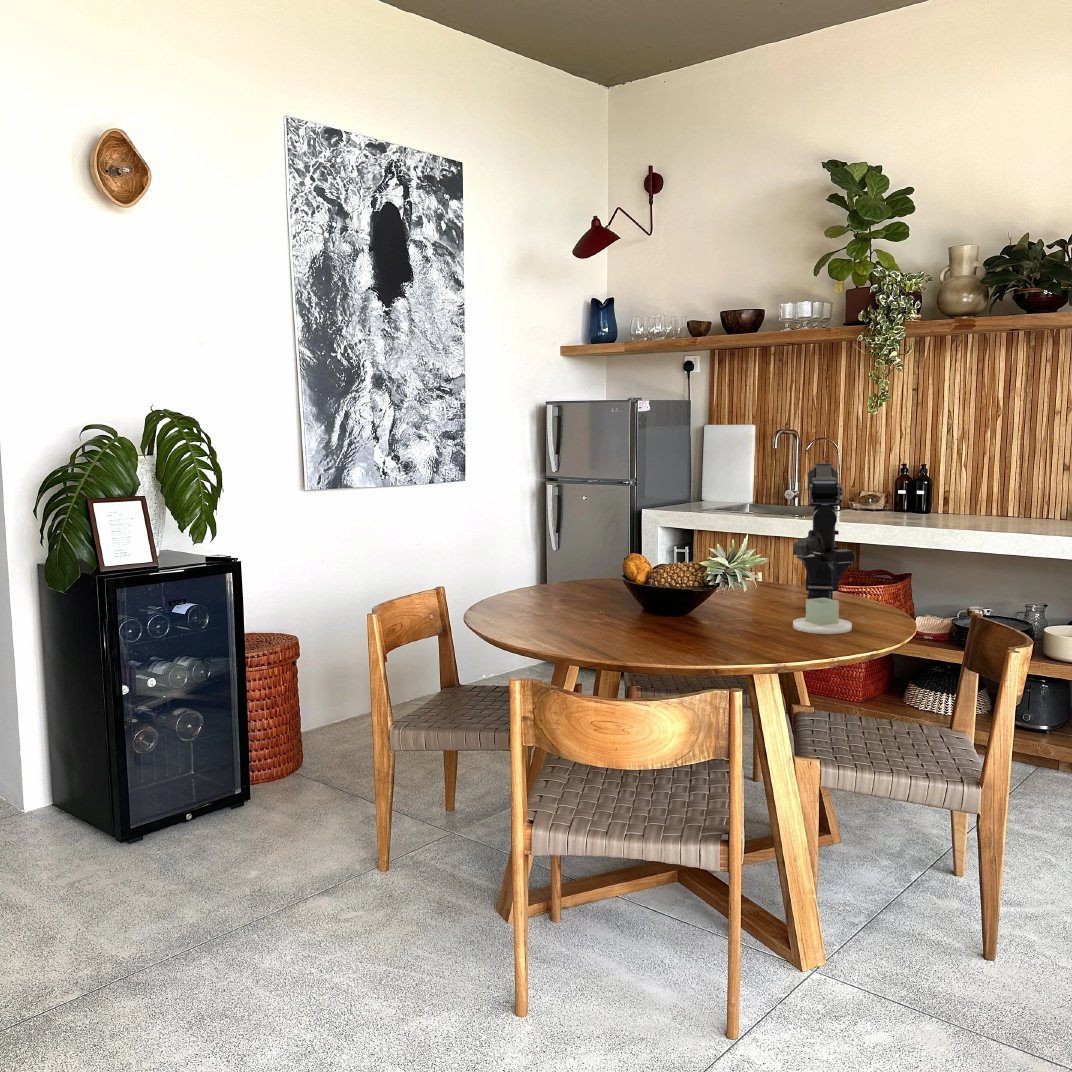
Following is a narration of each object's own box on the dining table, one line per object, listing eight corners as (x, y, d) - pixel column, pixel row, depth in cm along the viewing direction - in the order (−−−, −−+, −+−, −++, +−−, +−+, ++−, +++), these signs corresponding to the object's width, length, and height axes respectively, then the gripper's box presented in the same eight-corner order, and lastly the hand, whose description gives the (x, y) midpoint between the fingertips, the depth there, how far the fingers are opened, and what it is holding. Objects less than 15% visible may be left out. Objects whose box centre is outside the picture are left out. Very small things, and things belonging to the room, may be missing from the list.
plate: (826, 620, 269) (827, 615, 269) (863, 630, 255) (864, 625, 255) (781, 625, 263) (781, 619, 263) (816, 636, 249) (816, 630, 249)
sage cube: (823, 619, 263) (824, 597, 262) (838, 623, 257) (838, 601, 257) (805, 621, 261) (805, 599, 260) (819, 625, 255) (820, 603, 254)
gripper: (777, 525, 262) (776, 582, 263) (821, 531, 244) (820, 592, 246) (811, 523, 266) (810, 579, 267) (857, 529, 248) (855, 589, 250)
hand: (822, 585), depth 258 cm, fingers open, 9 cm apart
